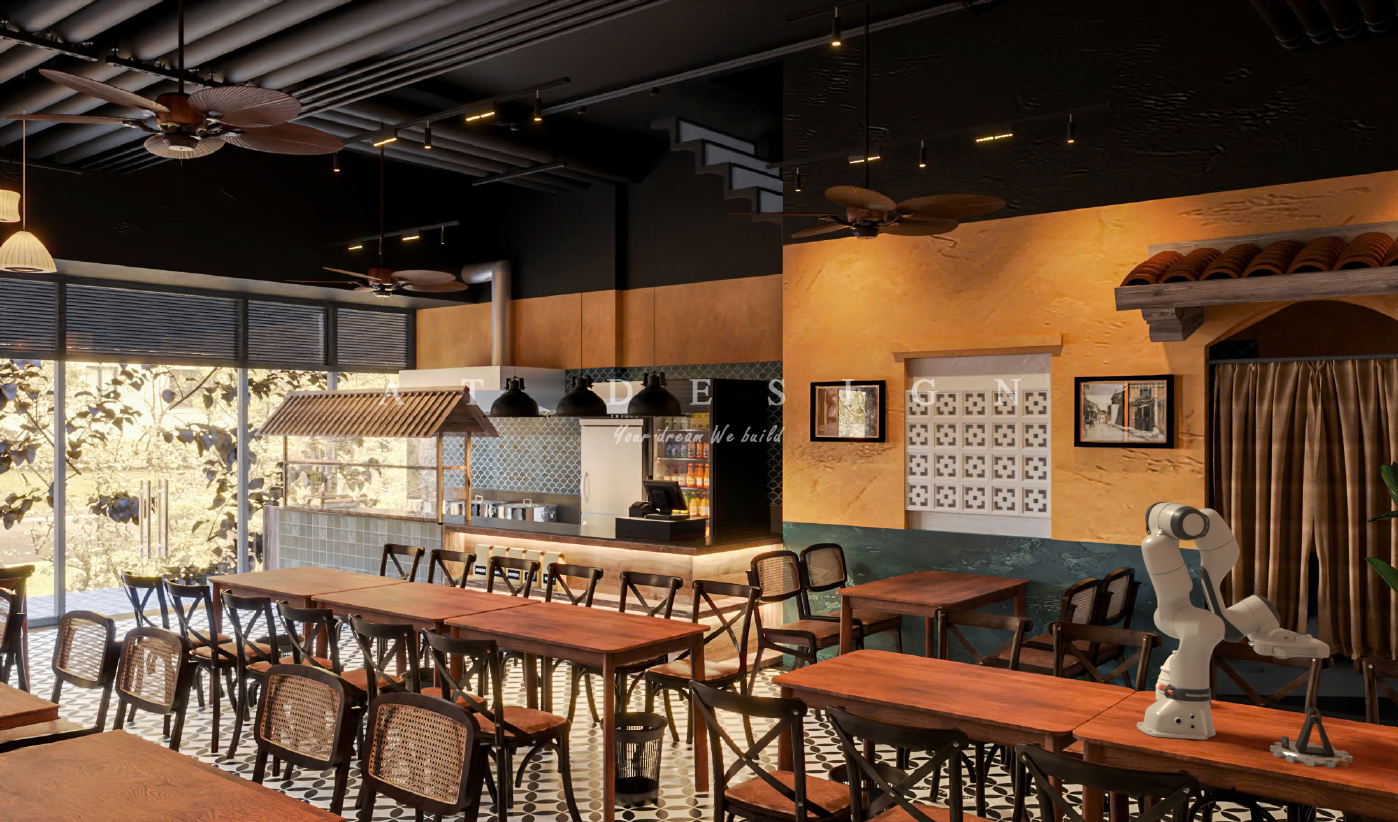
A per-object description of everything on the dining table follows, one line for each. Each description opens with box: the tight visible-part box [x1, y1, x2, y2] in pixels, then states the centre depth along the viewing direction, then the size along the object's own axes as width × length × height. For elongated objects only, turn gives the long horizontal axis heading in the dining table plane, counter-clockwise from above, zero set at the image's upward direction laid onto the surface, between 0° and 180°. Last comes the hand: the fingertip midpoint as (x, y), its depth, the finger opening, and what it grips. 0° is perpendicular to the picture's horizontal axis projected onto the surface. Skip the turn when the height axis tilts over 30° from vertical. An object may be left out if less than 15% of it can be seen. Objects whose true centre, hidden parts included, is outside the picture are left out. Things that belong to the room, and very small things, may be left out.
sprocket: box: [1269, 735, 1354, 768], centre depth 292 cm, size 20×20×4 cm
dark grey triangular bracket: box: [1295, 706, 1335, 756], centre depth 291 cm, size 9×6×12 cm, turn 67°
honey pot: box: [1155, 650, 1178, 700], centre depth 355 cm, size 13×13×18 cm
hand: (1303, 655), depth 299 cm, fingers open, 8 cm apart
